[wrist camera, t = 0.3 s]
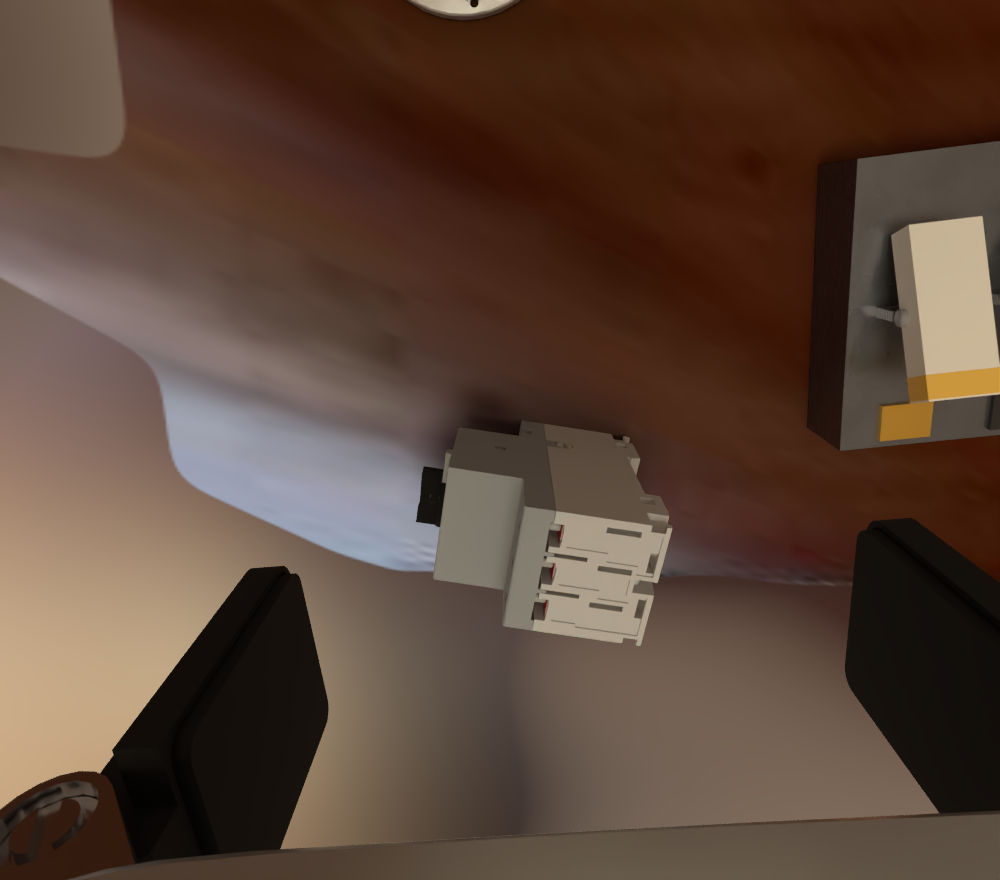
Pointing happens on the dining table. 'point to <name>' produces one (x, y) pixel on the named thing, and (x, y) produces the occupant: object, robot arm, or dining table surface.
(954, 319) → the block
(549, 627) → the circuit breaker
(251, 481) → the dining table surface
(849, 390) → the console
